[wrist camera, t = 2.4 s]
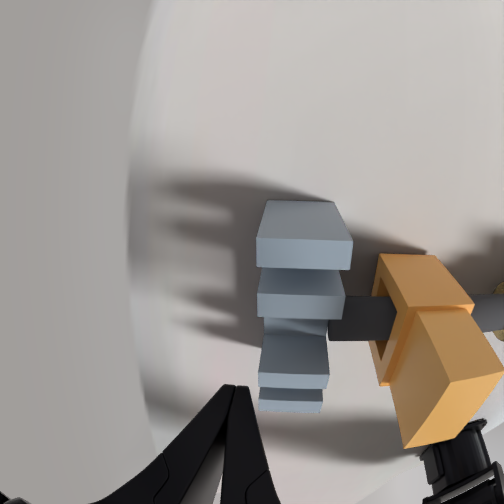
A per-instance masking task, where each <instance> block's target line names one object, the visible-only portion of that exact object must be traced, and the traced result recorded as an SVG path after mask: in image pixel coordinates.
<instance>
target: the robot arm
mask: <svg viewBox="0 0 504 504" xmlns="http://www.w3.org/2000/svg"><path fill="white" fill-rule="evenodd" d="M486 424H487V421H486V420H482V421H479V422H476V423H472V424H469V425H465V427H464V428H463V429H462V430H461V431H460V432H459V434H458V435H457V436H456V437H455V438H453V439H449V440H445V441H441V442H436V443H432V444H431V445H430V446H429V447H428V449H427V450H426V451H425V452H424V453H423V454H422V455H421V456H420V457H419V458H420V461H423V460H424V465H425V470H426V475H427V481H428V484H429V485H431V484H432V489H433V495H432V496H430V497H426V498H424V499H423V503H422V504H504V474H503V470H502V467H501V465H500V464H499V463H498V462H497V461H495V462H493V463H492V465H491V462H490V458H489V455H488V452H487V449H486V446H485V442H484V440H483V437H482V434H481V430H482V429H483V427H484V426H485V425H486ZM222 473H223V475H222ZM493 475H494V477H495V478H493V479H492V480H489V479H488V478H490V477H491V476H493ZM221 476H222V487H221V500H220V504H281V503H280V500H279V498H278V496H277V493H276V490H275V487H274V484H273V481H272V477H271V474H270V471H269V467H268V463H267V459H266V455H265V451H264V447H263V443H262V439H261V435H260V432H259V427H258V423H257V419H256V415H255V411H254V407H253V403H252V399H251V394H250V390H249V387H248V386H235V385H229V384H224V385H223V386H222V387H221V388H220V389H219V390H218V391H217V392H216V394H215V395H214V396H213V397H212V398H211V399H210V400H209V402H208V403H207V404H206V405H205V406H204V407H203V408H202V409H201V411H200V412H199V413H198V414H197V415H196V416H195V417H194V418H193V419H192V421H191V422H190V423H189V424H188V425H187V426H186V427H185V428H184V429H183V430H182V431H181V432H180V434H179V435H178V436H177V437H176V438H175V439H174V440H173V441H172V442H171V443H170V444H169V445H168V446H167V447H166V448H165V449H164V450H163V453H160V454H159V455H158V456H157V457H156V459H155V460H154V461H153V462H151V463H150V464H149V465H148V466H147V467H146V468H145V469H144V470H143V471H141V472H140V473H139V474H138V475H137V476H135V477H134V478H133V479H131V480H130V481H128V482H127V483H126V484H124V485H123V486H121V487H120V488H119V489H117V490H116V491H115V492H113V493H112V494H110V495H109V496H107V497H105V498H104V499H102V500H99V501H97V502H94V503H90V504H213V501H214V498H215V495H216V492H217V488H218V485H219V482H220V479H221ZM486 479H487V480H486ZM485 480H486V481H485ZM483 481H484V482H483ZM481 482H482V483H481ZM479 483H480V484H479ZM477 484H479V485H477ZM475 485H477V486H475ZM474 486H475V487H474ZM472 487H473V488H472ZM470 488H471V489H470ZM468 489H469V490H468ZM466 490H467V491H466ZM464 491H465V492H464ZM462 492H463V493H462ZM460 493H461V494H460ZM458 494H459V495H458ZM456 495H457V496H456ZM454 496H455V497H454ZM452 497H453V498H452ZM450 498H451V499H450ZM448 499H449V500H448ZM445 500H447V501H445ZM443 501H445V502H443ZM441 502H442V503H441ZM0 504H31V503H29V502H27V501H26V500H24V499H22V498H20V497H19V498H15V499H10V498H9V497H7V496H6V495H5V494H3V493H2V492H1V491H0Z"/></svg>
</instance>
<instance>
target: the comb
mask: <svg viewBox="0 0 504 504" xmlns="http://www.w3.org/2000/svg"><path fill="white" fill-rule="evenodd" d="M352 248H353V239H352V237H351V235H350V233H349V231H348V229H347V227H346V225H345V223H344V221H343V219H342V217H341V215H340V213H339V211H338V209H337V207H336V205H335V203H334V202H316V201H285V200H267V203H266V207H265V210H264V213H263V217H262V220H261V223H260V227H259V230H258V233H257V237H256V261H257V267H262V272H261V277H260V281H259V286H258V291H257V317H264V337H263V344H262V351H261V357H260V364H259V370H258V387H260V393H259V411H274V412H299V413H320V410H321V407H322V403H323V394H322V389H326V387H327V383H328V379H329V375H330V373H329V362H328V352H327V342H326V333H327V327H328V321H329V319H340V320H341V319H342V314H343V308H344V302H345V292H344V288H343V285H342V281H341V277H340V273H339V270H350V264H351V256H352Z"/></svg>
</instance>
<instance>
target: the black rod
mask: <svg viewBox="0 0 504 504" xmlns="http://www.w3.org/2000/svg"><path fill="white" fill-rule="evenodd" d="M468 296H469V297H470V298H471V300H472V301H473V302H474V304H475V305H474V308H473V310H472V313H471V316H472V318H473V319H474V321H475V322H476V324H477V325H478V327H479V328H480V330H481V331H482V333H483V332H490V331H497V330H504V293H503V294H483V295H468ZM396 315H397V310H396V308H395V305H394V303H393V301H392V299H391V297H390V296H345V302H344V308H343V314H342V319H341V320H340V319H329V321H328V338H329V341H378V340H389V337H390V334H391V331H392V328H393V325H394V321H395V318H396Z"/></svg>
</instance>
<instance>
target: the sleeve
mask: <svg viewBox="0 0 504 504" xmlns="http://www.w3.org/2000/svg"><path fill="white" fill-rule="evenodd" d="M371 296H390V297H391V299H392V301H393V303H394V305H395V308H396V310H397V315H396V318H395V321H394V325H393V328H392V331H391V334H390V337H389V340H378V341H368V342H369V346H370V349H371V353H372V357H373V361H374V365H375V369H376V373H377V378H378V382H379V386H390V389H391V393H392V397H393V402H394V406H395V410H396V414H397V419H398V423H399V428H400V433H401V438H402V443H403V448H404V449H406V448H412V447H417V446H422V445H427V444H432V443H436V442H441V441H445V440H449V439H453V438H455V437H456V436H457V435H458V434H459V432H460V431H461V430H462V429H463V428H464V427H465V425H466V424H467V423H468V422H469V421H470V419H471V418H472V417H473V416H474V414H475V413H476V412H477V411H478V409H479V408H480V407H481V405H482V404H483V403H484V401H485V400H486V399H487V397H488V396H489V394H490V393H491V392H492V390H493V389H494V387H495V386H496V384H497V383H498V381H499V380H500V378H501V377H502V375H503V374H504V367H503V365H502V363H501V362H500V360H499V358H498V357H497V355H496V353H495V352H494V350H493V348H492V347H491V345H490V344H489V342H488V340H487V339H486V337H485V336H484V334H483V333H482V331H481V330H480V328H479V327H478V325H477V324H476V322H475V321H474V319H473V318H472V316H471V313H472V310H473V308H474V305H475V304H474V302H473V301H472V300H471V298H470V297H469V296H468V294H467V293H466V292H465V291H464V289H463V288H462V287H461V286H460V284H459V283H458V282H457V281H456V280H455V278H454V277H453V276H452V275H451V274H450V272H449V271H448V270H447V269H446V268H445V267H444V265H443V264H442V263H441V262H440V261H439V260H438V259H437V257H436V256H435V255H409V254H381V253H379V257H378V263H377V269H376V274H375V279H374V284H373V289H372V294H371Z"/></svg>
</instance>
